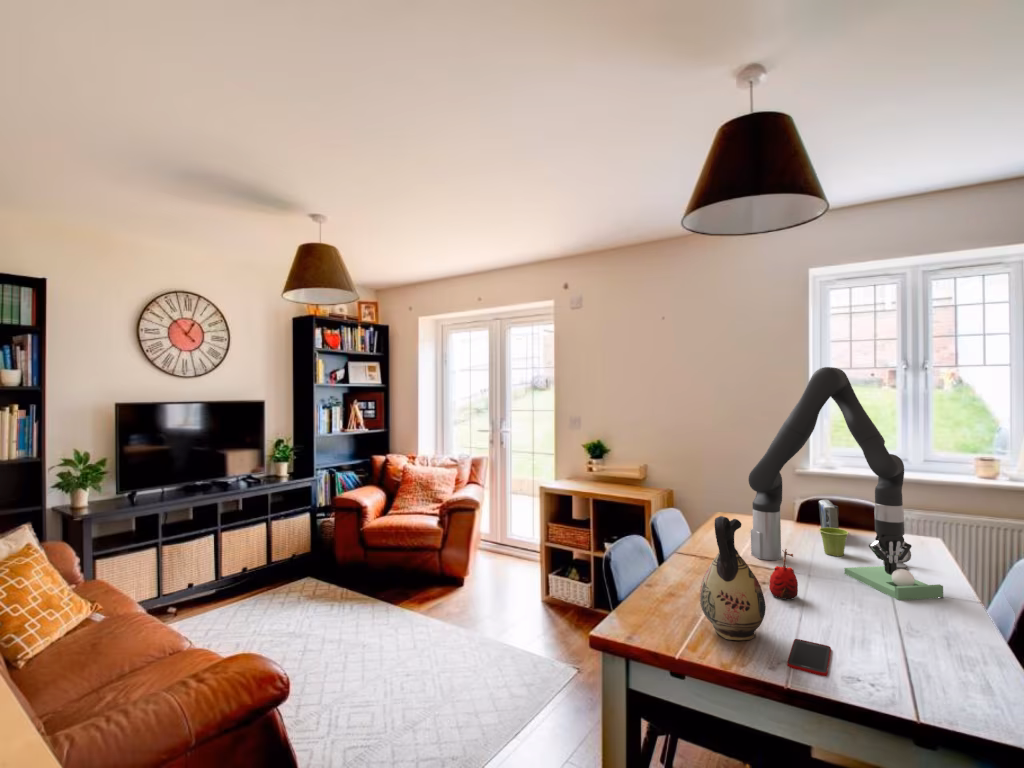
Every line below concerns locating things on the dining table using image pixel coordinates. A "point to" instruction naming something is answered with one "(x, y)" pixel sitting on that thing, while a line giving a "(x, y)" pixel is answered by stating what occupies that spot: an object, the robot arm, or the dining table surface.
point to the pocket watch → (903, 561)
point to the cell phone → (809, 657)
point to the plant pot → (834, 540)
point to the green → (885, 584)
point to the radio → (828, 514)
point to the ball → (903, 578)
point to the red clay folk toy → (784, 581)
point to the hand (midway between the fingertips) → (890, 573)
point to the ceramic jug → (731, 588)
